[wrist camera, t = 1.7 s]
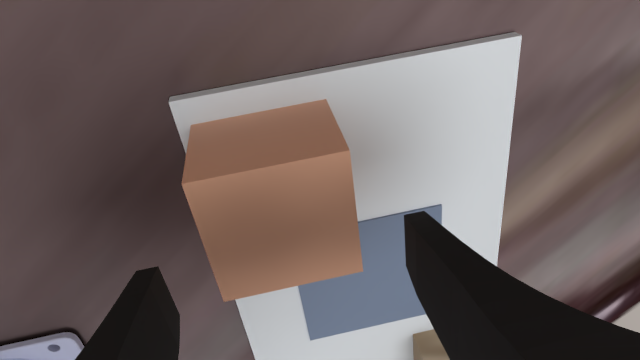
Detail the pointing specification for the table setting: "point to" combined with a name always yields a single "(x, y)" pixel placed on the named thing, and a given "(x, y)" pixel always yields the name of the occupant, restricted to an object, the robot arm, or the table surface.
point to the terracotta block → (273, 199)
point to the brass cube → (428, 346)
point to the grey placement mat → (386, 185)
